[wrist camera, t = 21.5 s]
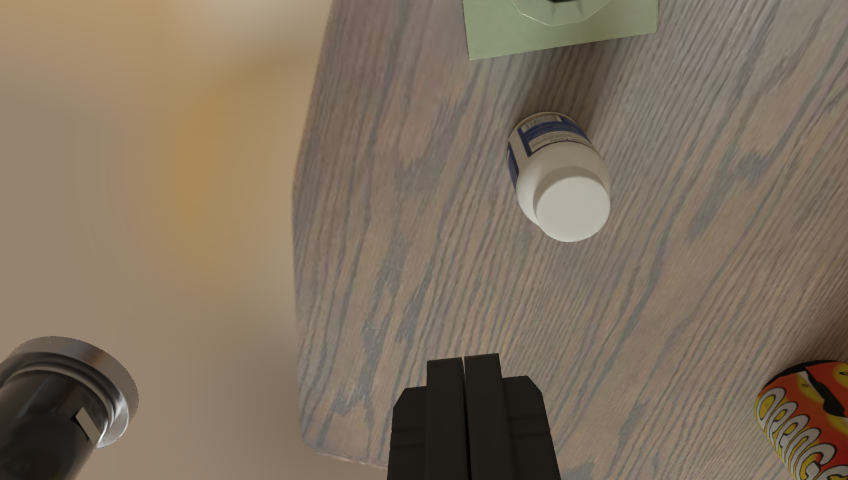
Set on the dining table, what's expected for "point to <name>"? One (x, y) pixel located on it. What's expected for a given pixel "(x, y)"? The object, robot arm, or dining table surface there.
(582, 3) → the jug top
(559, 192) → the pill bottle
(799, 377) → the beverage can
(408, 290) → the dining table surface
